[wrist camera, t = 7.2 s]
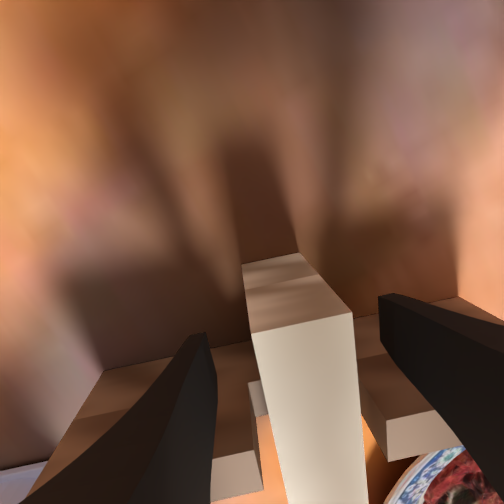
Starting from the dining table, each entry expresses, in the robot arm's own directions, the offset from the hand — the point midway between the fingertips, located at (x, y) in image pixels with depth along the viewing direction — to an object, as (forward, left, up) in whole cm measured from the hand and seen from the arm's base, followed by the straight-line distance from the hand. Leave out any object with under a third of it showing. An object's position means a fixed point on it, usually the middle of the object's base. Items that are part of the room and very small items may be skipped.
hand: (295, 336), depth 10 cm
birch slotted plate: (0, -3, -4) cm, 5 cm away
